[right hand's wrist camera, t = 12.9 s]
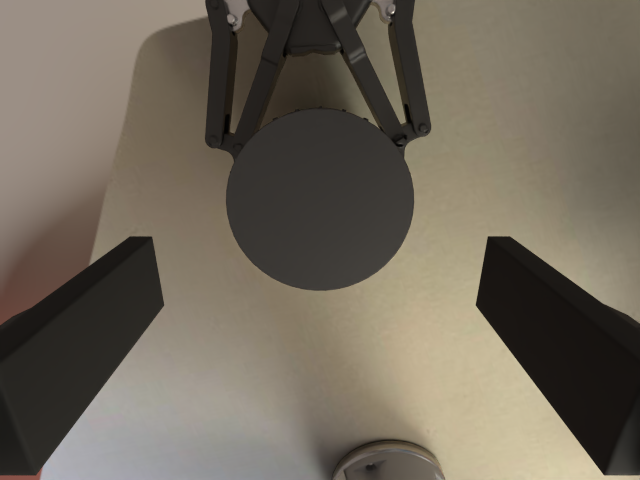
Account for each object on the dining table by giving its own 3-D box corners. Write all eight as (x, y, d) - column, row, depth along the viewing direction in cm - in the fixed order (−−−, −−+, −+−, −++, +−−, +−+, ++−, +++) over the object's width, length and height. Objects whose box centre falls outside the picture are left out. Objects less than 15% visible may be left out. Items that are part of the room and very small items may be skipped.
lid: (328, 62, 20) (329, 59, 18) (441, 207, 23) (452, 217, 21) (196, 190, 22) (184, 199, 20) (313, 305, 25) (312, 322, 23)
